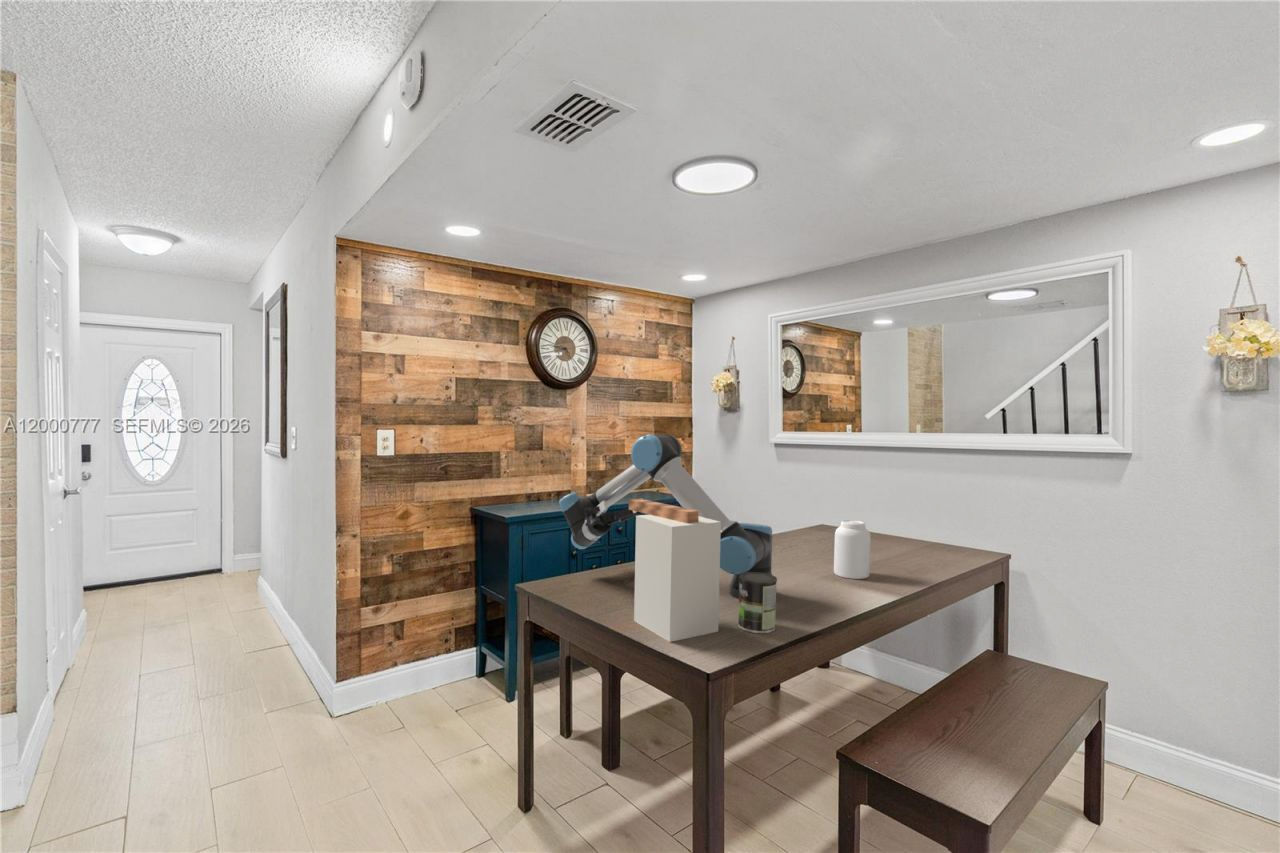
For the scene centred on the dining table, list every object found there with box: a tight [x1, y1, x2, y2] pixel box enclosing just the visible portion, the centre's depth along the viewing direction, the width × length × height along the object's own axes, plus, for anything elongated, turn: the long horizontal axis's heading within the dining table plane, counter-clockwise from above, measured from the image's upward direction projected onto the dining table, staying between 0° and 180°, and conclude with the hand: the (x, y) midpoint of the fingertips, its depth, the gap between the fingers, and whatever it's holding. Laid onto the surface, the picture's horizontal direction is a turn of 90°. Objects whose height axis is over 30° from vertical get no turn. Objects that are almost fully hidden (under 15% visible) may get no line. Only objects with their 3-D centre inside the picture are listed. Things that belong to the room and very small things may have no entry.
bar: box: [628, 498, 699, 523], centre depth 176 cm, size 26×4×3 cm, turn 38°
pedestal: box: [633, 514, 721, 643], centre depth 172 cm, size 18×16×30 cm
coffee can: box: [737, 572, 778, 634], centre depth 173 cm, size 10×10×14 cm
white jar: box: [833, 519, 872, 580], centre depth 229 cm, size 12×12×20 cm
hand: (624, 503), depth 196 cm, fingers open, 13 cm apart
